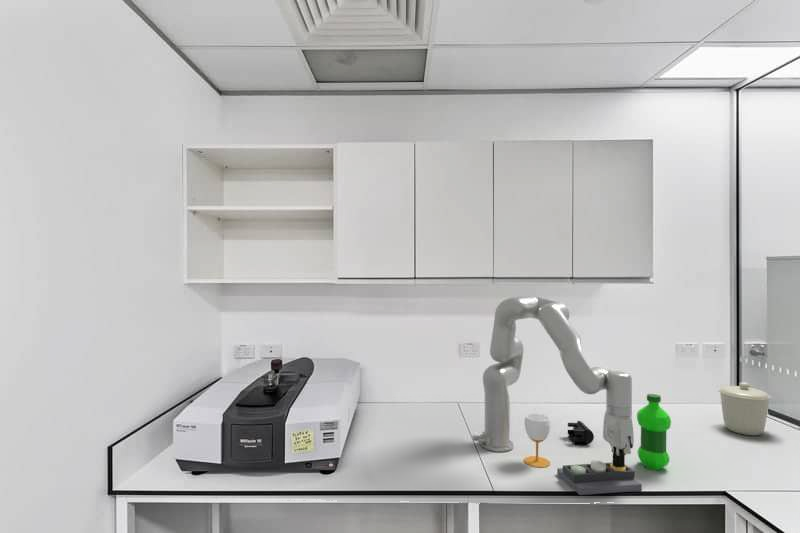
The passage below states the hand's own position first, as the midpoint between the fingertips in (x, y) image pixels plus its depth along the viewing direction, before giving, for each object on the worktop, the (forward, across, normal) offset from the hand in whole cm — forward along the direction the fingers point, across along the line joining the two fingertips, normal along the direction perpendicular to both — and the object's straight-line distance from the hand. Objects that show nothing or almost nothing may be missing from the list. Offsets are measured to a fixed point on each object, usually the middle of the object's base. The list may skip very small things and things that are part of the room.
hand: (618, 466), depth 150 cm
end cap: (+5, -33, +6) cm, 34 cm away
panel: (+5, 0, -7) cm, 9 cm away
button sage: (+2, 0, -14) cm, 14 cm away
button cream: (+1, 0, -7) cm, 7 cm away
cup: (+5, -17, -20) cm, 27 cm away
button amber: (+2, 0, 0) cm, 3 cm away
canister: (+5, -34, +82) cm, 89 cm away
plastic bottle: (+5, -8, +19) cm, 21 cm away
